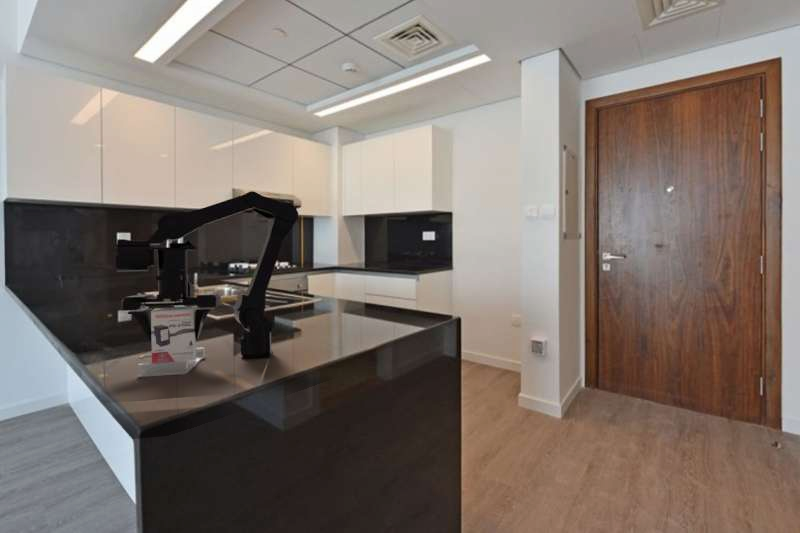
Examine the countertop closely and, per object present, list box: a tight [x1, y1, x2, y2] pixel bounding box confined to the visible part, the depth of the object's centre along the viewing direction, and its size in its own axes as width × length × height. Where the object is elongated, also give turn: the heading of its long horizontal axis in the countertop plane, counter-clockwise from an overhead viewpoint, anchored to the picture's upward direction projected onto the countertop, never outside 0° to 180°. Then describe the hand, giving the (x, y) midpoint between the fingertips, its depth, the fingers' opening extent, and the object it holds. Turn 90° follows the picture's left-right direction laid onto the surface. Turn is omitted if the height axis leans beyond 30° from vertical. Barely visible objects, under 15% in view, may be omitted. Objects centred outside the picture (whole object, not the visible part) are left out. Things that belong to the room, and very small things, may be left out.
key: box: [139, 353, 152, 360], centre depth 97 cm, size 6×2×1 cm, turn 123°
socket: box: [137, 346, 206, 378], centre depth 88 cm, size 9×14×2 cm, turn 13°
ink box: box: [150, 305, 197, 363], centre depth 88 cm, size 8×5×12 cm, turn 117°
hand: (174, 339), depth 88 cm, fingers closed on ink box, 9 cm apart
